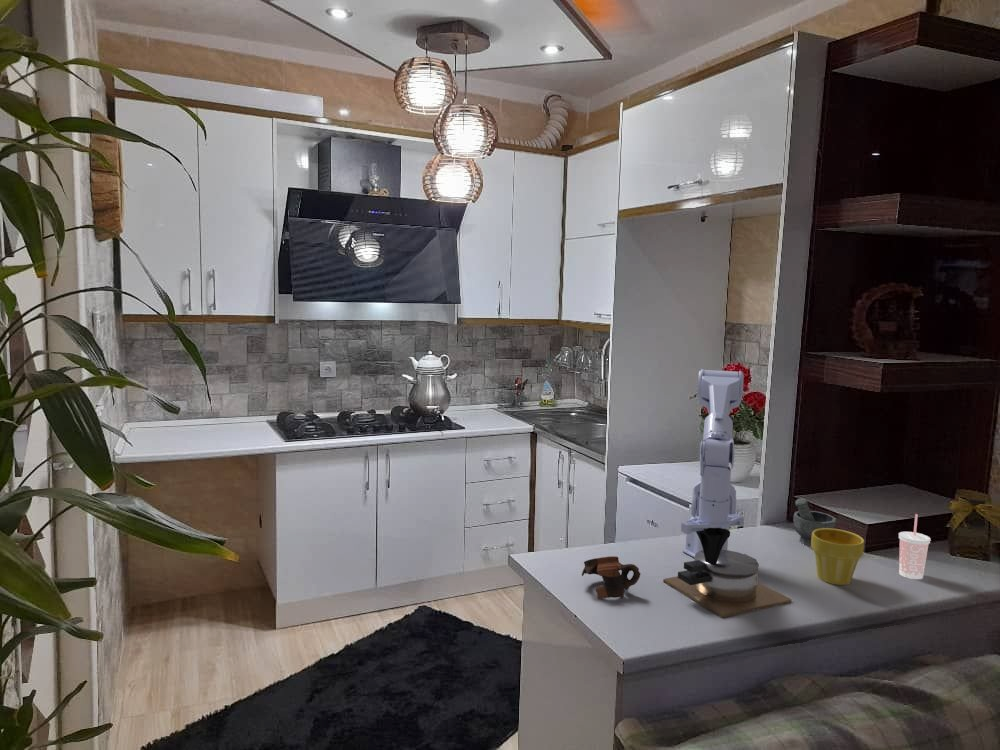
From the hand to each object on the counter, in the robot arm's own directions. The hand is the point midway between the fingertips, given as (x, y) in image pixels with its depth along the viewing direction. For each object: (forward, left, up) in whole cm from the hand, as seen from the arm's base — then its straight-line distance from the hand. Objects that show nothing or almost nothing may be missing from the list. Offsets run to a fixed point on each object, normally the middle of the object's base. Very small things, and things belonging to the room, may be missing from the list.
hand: (710, 562), depth 143 cm
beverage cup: (+9, +49, -7) cm, 51 cm away
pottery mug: (-10, -17, -7) cm, 21 cm away
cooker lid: (0, +3, -1) cm, 3 cm away
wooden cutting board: (0, +4, -7) cm, 8 cm away
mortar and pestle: (-14, +44, -7) cm, 47 cm away
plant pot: (+4, +31, -7) cm, 32 cm away
